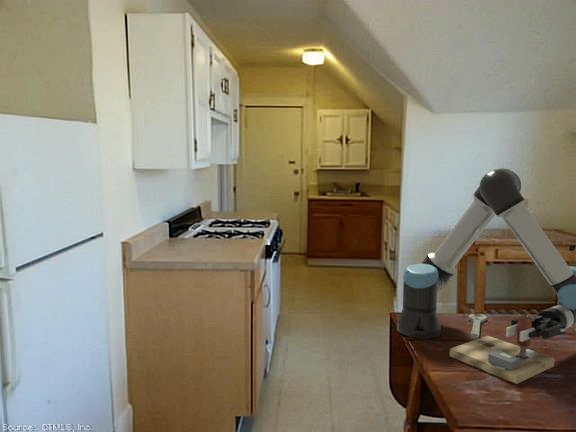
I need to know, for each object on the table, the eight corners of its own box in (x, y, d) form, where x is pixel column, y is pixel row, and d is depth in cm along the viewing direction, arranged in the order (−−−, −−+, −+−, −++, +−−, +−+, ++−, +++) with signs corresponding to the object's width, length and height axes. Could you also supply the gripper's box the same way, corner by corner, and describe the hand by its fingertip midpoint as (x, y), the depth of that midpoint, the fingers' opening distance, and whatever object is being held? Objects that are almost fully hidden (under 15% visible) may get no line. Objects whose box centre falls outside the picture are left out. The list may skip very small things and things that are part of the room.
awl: (513, 359, 144) (515, 317, 142) (520, 356, 146) (522, 315, 144) (525, 363, 141) (527, 320, 139) (531, 360, 143) (534, 318, 141)
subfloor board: (449, 356, 149) (449, 348, 149) (487, 342, 160) (487, 335, 160) (516, 383, 131) (517, 374, 131) (553, 366, 142) (554, 358, 142)
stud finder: (488, 361, 139) (488, 353, 139) (497, 357, 142) (498, 349, 142) (510, 370, 134) (511, 362, 133) (520, 366, 136) (521, 358, 136)
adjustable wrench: (478, 341, 163) (479, 336, 163) (459, 337, 166) (459, 332, 166) (487, 319, 185) (487, 314, 185) (469, 316, 188) (470, 312, 188)
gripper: (581, 338, 146) (541, 356, 133) (528, 323, 159) (487, 338, 146) (583, 315, 145) (543, 330, 132) (530, 301, 159) (488, 314, 145)
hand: (514, 334), depth 139 cm, fingers closed on awl, 3 cm apart
